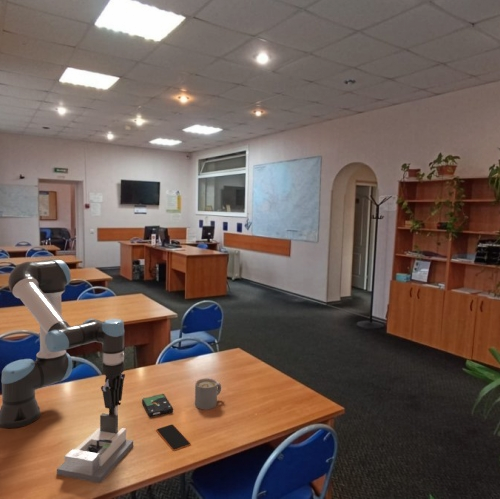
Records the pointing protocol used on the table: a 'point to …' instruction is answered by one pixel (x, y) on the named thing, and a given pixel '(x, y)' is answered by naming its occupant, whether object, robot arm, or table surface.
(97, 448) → the dark grey angular piece
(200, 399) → the coffee mug
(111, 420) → the plunger
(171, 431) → the smartphone
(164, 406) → the disk drive
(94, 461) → the brushed metal slab
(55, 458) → the table surface
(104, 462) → the bench
